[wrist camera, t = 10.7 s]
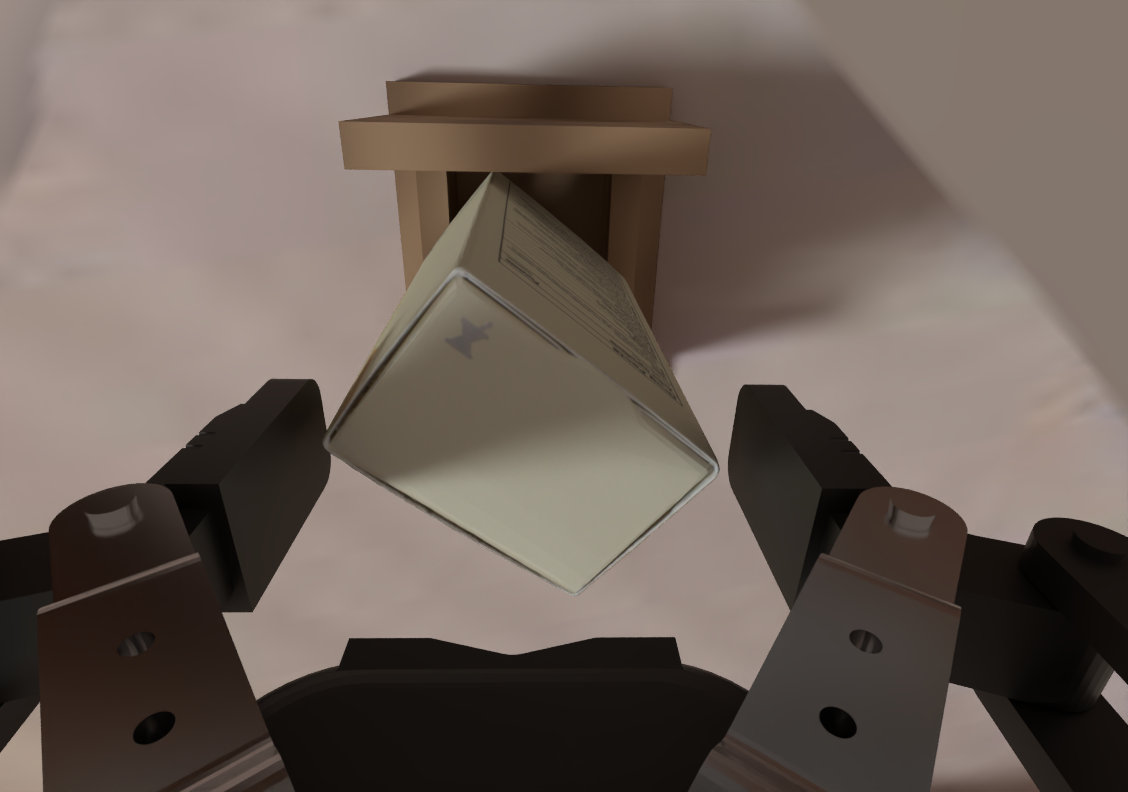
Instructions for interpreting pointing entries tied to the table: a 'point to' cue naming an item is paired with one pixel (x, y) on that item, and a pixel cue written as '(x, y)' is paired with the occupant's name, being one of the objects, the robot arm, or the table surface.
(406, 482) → the skincare box
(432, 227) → the stand
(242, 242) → the table surface
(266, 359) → the table surface
